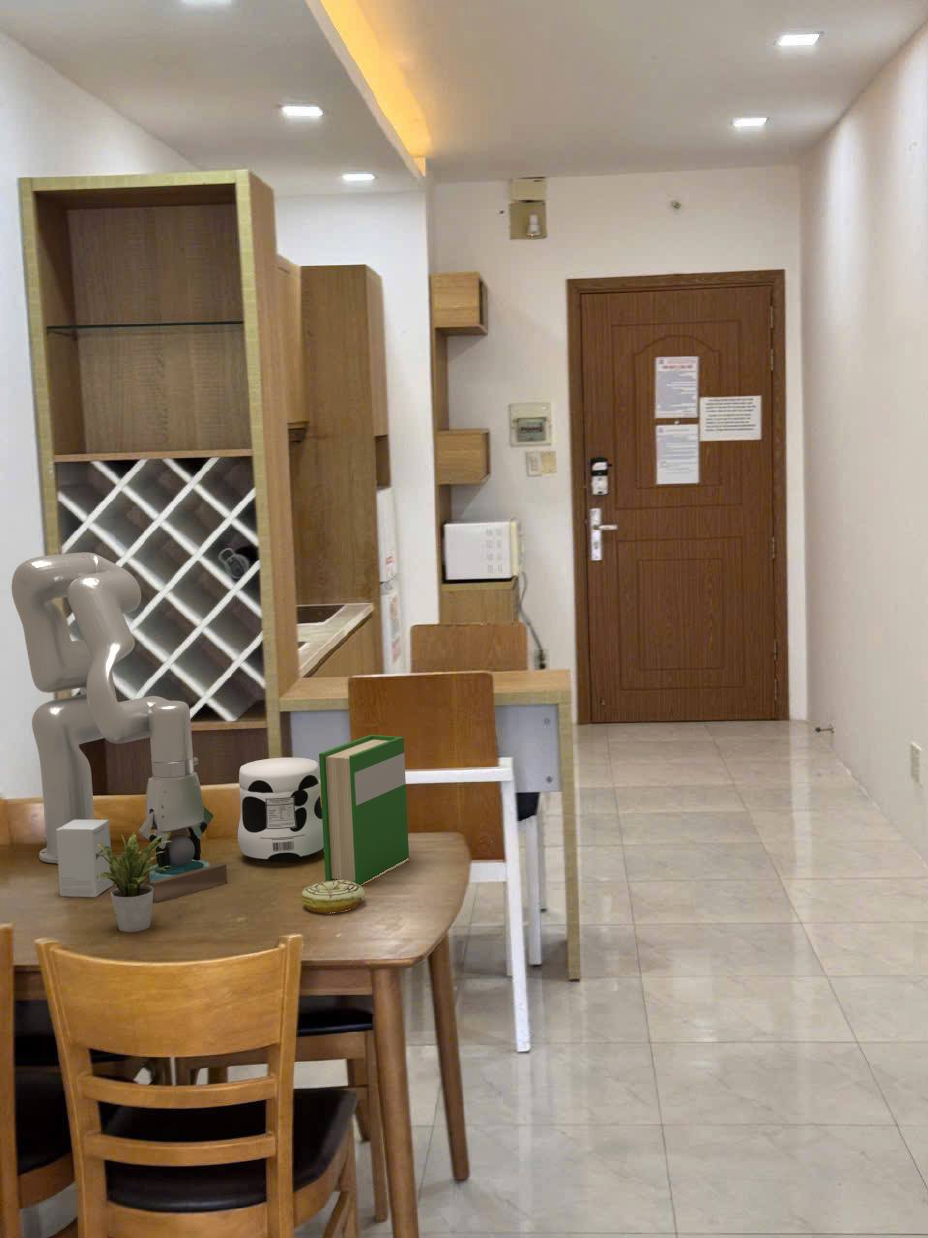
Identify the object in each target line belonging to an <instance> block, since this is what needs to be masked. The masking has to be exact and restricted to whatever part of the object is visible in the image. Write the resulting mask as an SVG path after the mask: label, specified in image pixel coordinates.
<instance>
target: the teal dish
mask: <svg viewBox="0 0 928 1238" xmlns="http://www.w3.org/2000/svg"><path fill="white" fill-rule="evenodd" d="M153 865H154V866H152V867H151V868H149V869H148V871H149V870H151V869H153V868H161V867H159V866H158V864H157V863H156V864H153ZM208 866H210V862H208V861H205V860H203V859H200V860H199V861H196V860H193V859H192V861H191V862H190V863H189V864H187V865H185V866H183V867H173V866H171V865H170V867H169V869H165V870H160V871H158V870H153V871H151V872H150V873H148V874H149V876H148V877H149V883H150V882H152V881H156V880H160V879H163V878H167V877H171V876H174V875H178V874H182V873H186V872H189V871H193V870H197V869H201V868H204V867H208ZM163 869H164V868H163ZM166 870H167V871H166ZM157 871H158V872H157ZM156 872H157V873H156ZM155 873H156V874H155ZM154 874H155V875H154ZM153 875H154V876H153ZM152 876H153V877H152ZM151 877H152V878H151Z"/></svg>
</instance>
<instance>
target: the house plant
mask: <svg viewBox="0 0 928 1238" xmlns="http://www.w3.org/2000/svg"><path fill="white" fill-rule="evenodd" d="M164 835H165V834H164ZM164 835H161V836H159V837H158V838H156V839H154V840H153V841H152V842H151V843H150V842H149V845H148V846H147V847H146V848H144V849H142V850H140V851H139V850H138V849H139V847H138V846H139V845H138V844H139V843H138V839H137V834H136V832H135V831H134V829H133V831H132V834H131V835H130V836H129V838H128V841H127V840H126V839H125V837H124V835H123V834H120V836H121V838H122V841H123V844H124V848H125V851H123V852H122V853H121V856H118V857H116V856H115V855H114V853H113V852H112V850H111V851H110V850H109V849H107V848H106V847H104V846H103V845H101V844H100V843H96V842H94V843H96V844H97V845H98V846H99V847H101V849H102V850H103V851H104V852H105V854H106V855H107V856H108V858H109V860H110V861H111V862H110V861H109V860H108V859H107V858H106V857H104V856H103V855H101V854H99V853H98V854H99V855H101V856H102V857H103V858H104V859H105V860H106V861H108V862H109V865H110V872H111V873H112V874H111V873H109V872H103V873H101V874H102V875H101V876H100V877H99V878H98V879H100V878H109V879H110V880H112V881H113V884H114V885H116V887H117V888H115V889H113V890H112V891H111V892H110V897H111V903H112V905H113V910H114V913H115V917H116V921H117V927H118V929H119V931H121V932H125V933H134V932H135V933H136V932H140V931H141V932H142V931H144V930H147V929H149V928H150V927H151V922H152V911H153V891H154V888H153V887H151V886H150V885H148V882H149V881H147V882H146V883H145V884H142V883H143V881H144V880H145V879H146V877H147V876H148V874H149V873H150V872H151V871H153V870H158V871H160V870H165V869H163V868H165V867H170V866H165V867H163V868H153V869H151V870H149V868H151V867H152V866H154V865H155V864H151V862H152V861H153V860H154V859H156V857H157V856H156V854H158V853H162V852H157V853H156V852H155V853H153V854H152V852H153V851H154V850H156V849H155V848H156V847H158V846H159V845H161V844H163V843H167V842H172V841H165V842H161V841H160V842H161V843H160V842H157V841H158V840H159V839H160V838H161V837H162V836H164ZM126 841H127V842H126ZM156 842H157V843H156ZM158 843H159V844H158ZM156 844H158V845H156ZM140 854H142V855H141V858H140ZM151 854H152V856H151V857H150V855H151ZM149 857H150V858H149ZM148 858H149V859H148ZM158 871H157V872H158ZM166 871H167V870H166ZM157 872H156V873H157ZM156 873H155V874H156ZM155 874H154V875H155ZM154 875H153V876H154ZM153 876H152V877H153ZM152 877H151V878H152Z"/></svg>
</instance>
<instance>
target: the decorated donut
mask: <svg viewBox="0 0 928 1238" xmlns="http://www.w3.org/2000/svg"><path fill="white" fill-rule="evenodd" d="M365 898H366V892H365V890H364V888H363V886H360V885H358V884H356V883H355V882H354V881H348V880H338V879H337V880H334V881H322V882H316V883H314V884H311V885H308V886H306V887H304V888H303V890H302V892H301V902H302V904H303V906H305V908H306V909H307V910H309V911H310V912H312V911H313V913H316V912H319V913H318V914H324V913H330V912H331V913H332V912H338V913H341V912H340V911H345V910H349V909H352V908H353V909H354V907H355V906H356V907H357V906H358V905H359V904H361V902H363V901H364V900H365ZM356 907H355V908H356ZM353 909H352V910H353ZM349 911H350V910H349ZM332 914H333V913H332Z"/></svg>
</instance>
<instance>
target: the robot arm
mask: <svg viewBox="0 0 928 1238" xmlns="http://www.w3.org/2000/svg"><path fill="white" fill-rule="evenodd" d="M11 595H12V599H13V603H14V607H15V608H16V611H17V613H18V616H19V618H20V622H21V624H22V629H23V633H24V640H25V646H26V651H27V659H28V662H29V669H30V675H31V678H32V682H33V684H34V685H35V687H36V689H37V690H38V691H40V692H42V693H48V694H49V693H50V694H52V693H53V694H54V693H60V692H67V691H71V690H72V691H73V690H77V689H79V691H80V694H79V695H72V696H67V697H62V698H56V699H53V700H50V701H49V700H48V701H46V702H44V703H42V705H40V706H38V707H37V709H36V710H35V711H34V712H33V715H32V719H31V728H32V733H33V736H34V739H35V744H36V747H37V752H38V759H39V765H40V776H41V777H40V778H41V785H42V800H43V801H42V803H43V814H44V816H43V817H44V826H45V827H44V828H45V833H44V834H43V835H42V837H43V839H44V840H45V841H46V847H44V848H43V849H41V850H40V851H39V853H38V855H39V859H40V861H42V862H44V863H47V864H58V853H57V839H56V829H58V828H60V827H62V826H64V825H65V824H67V823H69V822H71V821H72V820H95V808H94V806H95V805H94V796H93V794H94V793H93V783H92V782H93V781H92V780H93V778H92V770H91V765H90V762H89V760H88V758H87V756H86V755H85V753H84V752H83V751H82V749H81V748H80V745H82V744H85V743H90V742H93V741H98V740H101V739H105V740H107V741H108V742H110V743H112V744H125V743H129V742H134V741H137V740H142V739H148V738H149V740H150V741H149V742H150V743H149V745H150V755H151V757H150V759H151V771H152V772H151V773H152V776H151V777H149V778H148V781H147V785H146V794H145V795H146V796H145V799H146V800H145V820H144V822H143V824H142V826H141V827H140V828H139V830H138V833H139V835H141V836H142V837H143V838H144V839H146V840H147V842H149V844H150V843H151V842H152V841H153V840H154V839H156V838H158V837H159V836H161V835H164V834H165V835H164V836H162V837H161V838H160V839H159V840H158V841H157V842H160V841H161V842H165V841H167V839H168V838H169V835H170V832H176V831H179V830H183V829H186V831H187V832H188V835H189V836H187V837H188V838H190V839H191V840H192V842H193V844H194V847H195V854H194V857H193V860H196V861H199V860H201V854H202V850H201V849H202V847H201V846H202V845H201V839H202V838H203V836H204V833H205V831H206V830H207V828H208V825H209V824H210V822H211V821H212V820H213V818H214V814H213V813H212V812H211V811H209V809H207V808H206V807H205V806H204V801H203V795H202V788H201V784H200V780H199V776H198V773H197V772H195V766H196V765H198V764H199V759H198V757H195V756H194V753H193V737H192V736H193V735H192V723H191V711H190V710H191V709H190V707H189V705H188V703H187V702H185V701H183V700H182V701H181V700H168V699H166V698H164V697H162V696H157V695H151V696H145V697H140V698H134V699H129V700H124V701H118V699H117V693H116V687H115V682H114V681H115V680H114V676H113V669H114V665H116V663H118V662H119V661H121V660H122V659H124V658H126V657H127V656H128V655H130V653H131V652H132V651H133V649H134V647H136V646H135V645H136V640H135V638H134V636H133V633H132V632H131V630H130V627H129V625H128V623H127V621H126V618H125V615H124V614H128V613H132V612H134V611H136V610H137V609H138V607H140V604H141V601H142V591H141V587H140V585H139V583H138V581H137V579H136V578H135V576H134V575H132V574H131V572H129V570H127V569H126V568H123V567H122V566H120V565H118V564H116V563H115V562H112V561H110V560H108V559H107V558H104V557H103V556H101V555H99V554H97V553H93V552H87V551H85V552H84V551H83V552H72V553H62V554H52V555H51V554H50V555H41V556H36V557H33V558H29V559H27V560H24V561H23V562H21V563H20V564H19V565H18V566H17V567H16V569H15V571H14V573H13V575H12V579H11ZM62 598H66V599H67V602H68V604H69V607H70V609H71V611H72V614H73V616H74V619H75V621H76V623H77V626H78V628H79V630H80V632H81V635H82V638H83V639H79V640H72V638H71V633H70V631H69V630H70V629H69V623H68V619H67V617H66V616H65V614H64V613H63V611H62V609H60V607H59V606H58V605H57V604H56V603H55V602H54V601H53V600H55V599H62ZM151 830H155V831H154V833H152V832H151ZM157 842H156V843H157ZM161 842H160V843H161ZM158 844H159V843H158ZM158 844H156V845H158ZM154 850H155V853H157V852H162V853H158V854H156V855H155V857H156V856H157V857H156V858H155V859H156V860H155V861H156V864H158V866H159V867H161V868H163V867H165V866H170V861H169V849H168V847H166V843H163V844H161V845H159V846H158V847H156V848H155V849H154ZM164 869H169V867H165V868H164Z"/></svg>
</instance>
